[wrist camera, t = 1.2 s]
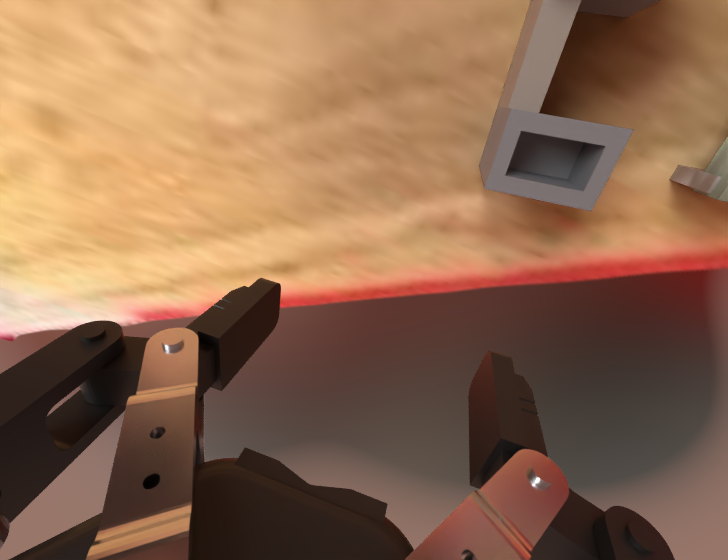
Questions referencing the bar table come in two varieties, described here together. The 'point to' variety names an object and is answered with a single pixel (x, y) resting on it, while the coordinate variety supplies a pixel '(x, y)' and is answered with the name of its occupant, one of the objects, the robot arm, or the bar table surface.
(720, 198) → the rail
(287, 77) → the bar table surface
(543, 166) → the grey hollow block
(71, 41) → the bar table surface
